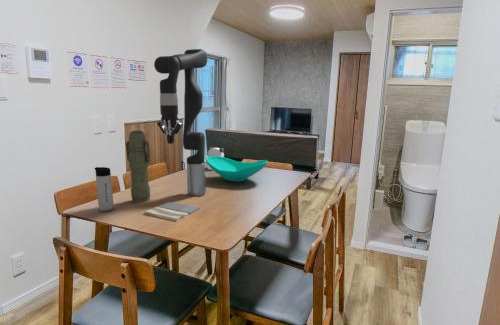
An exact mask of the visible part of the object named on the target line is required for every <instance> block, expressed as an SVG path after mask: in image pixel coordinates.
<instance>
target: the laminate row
mask: <svg viewBox="0 0 500 325" xmlns="http://www.w3.org/2000/svg"><path fill="white" fill-rule="evenodd" d="M157 207H160V208H165V209H170V210H175V211H180V212H185V213H189V215H191V214H193V213H195V212H197V211H199V210H200V209H201V207H200V206H194V205H187V204H184V203H183V204H182V203H178V202H172V201H167V202H164V203H163V204H160V205H158V206H157Z"/></svg>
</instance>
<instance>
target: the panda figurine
mask: <svg viewBox="0 0 500 325" xmlns="http://www.w3.org/2000/svg"><path fill="white" fill-rule="evenodd" d="M207 151H208V152H207V157H210V156H219V157H224V158H225V153H224V151H225V148H224V147H221V148H219V147H213V146H210V147H209V146H208V147H207ZM207 170H211V171H214V170H213V169H212V168H211V167H210V166H208V167H207Z"/></svg>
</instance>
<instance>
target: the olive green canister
mask: <svg viewBox="0 0 500 325" xmlns="http://www.w3.org/2000/svg"><path fill="white" fill-rule="evenodd" d="M125 147H126V148H125V150H126V160H127V161H128V164H129V165H128V166H129V168H130V178H131V180H130V182H131V188H130V194H131V195H130V196H131V202H132V204H135V203H144V202H149V201H150V200H151V188H150V187H151V186H150V185H149V170H148V168H149V163H150V162H151V155H150V153H151V152H150V151H151V150H150V149H151V148H150V143H149V141H148V140H146V135H145V132H144V131H143V130H132V131H130V132H129V134H128V140H127V141H126V143H125Z"/></svg>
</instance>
